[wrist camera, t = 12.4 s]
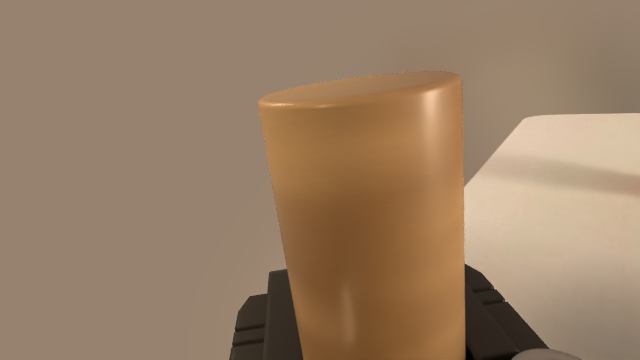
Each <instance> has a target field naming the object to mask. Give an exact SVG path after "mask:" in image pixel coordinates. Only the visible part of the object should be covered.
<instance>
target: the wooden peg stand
mask: <svg viewBox="0 0 640 360" xmlns="http://www.w3.org/2000/svg"><path fill="white" fill-rule="evenodd" d="M258 110H259V115H260V121H261V127H262V132H263V138H264V143H265V149H266V154H267V160H268V165H269V170H270V176H271V182H272V188H273V193H274V198H275V204H276V210H277V215H278V221H279V226H280V232H281V237H282V243H283V249H284V254H285V260H286V265H287V271H288V277H289V282H290V288H291V293H292V299H293V304H294V310H295V315H296V321H297V327H298V332H299V338H300V343H301V349H302V354H303V360H466V355H465V262H464V170H463V169H464V168H463V81H462V79H461V77H460V75H458V74H455V73H451V72H444V71H423V72H404V73H392V74H381V75H372V76H364V77H356V78H348V79H341V80H334V81H327V82H321V83H315V84H310V85H304V86H299V87H294V88H290V89H286V90H282V91H277V92H274V93H271V94H268V95H266V96H265V97H263V98H261V99H260V100H259V103H258Z"/></svg>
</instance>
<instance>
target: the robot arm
mask: <svg viewBox="0 0 640 360" xmlns="http://www.w3.org/2000/svg"><path fill="white" fill-rule="evenodd" d="M232 345H233V347H232V348H231V354H230V359H229V360H303V354H302V349H301V343H300V338H299V332H298V327H297V321H296V315H295V310H294V304H293V299H292V293H291V288H290V282H289V277H288V271H287V269H284V270H278V271H271V272H270V273H269V282H268V294H261V295H255V296H250V297H249V298H248V299H247V301H246V302H245V303H244V305H243V306H242V308H241V309H240V310H239V312H238V316H237V321H236V326H235V333H234V337H233V343H232ZM465 355H466V360H581V359H580V358H577V357H575V356H573V355H570V354H568V353H564V352H561V351H557V350H552V349H549V348H548V347H547V345H546V344H545V343H544V342H543V341H542V340H541V339H540V338H539V337H538V335H537V334H536V333H535V332H534V331H533V330H532V329H531V328H530V326H529V325H528V324H527V323H526V322H525V321H524V320H523V319H522V318H521V316H520V315H519V314H518V313H517V312H516V311H515V310H514V309H513V308H512V306H511V305H510V304H509V303H508V302H505V299H504V298H503V296H502V295H501V294H500V293H499V292H498V291H497V290H494V286H493V285H492V284H491V283H490V282H489V281H488V280H487V279H486V278H485V276H484V275H483V274H482V273H481V272H479V271H477V270H475V269H473V268H472V267H470V266H468V265H466V264H465Z"/></svg>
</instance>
